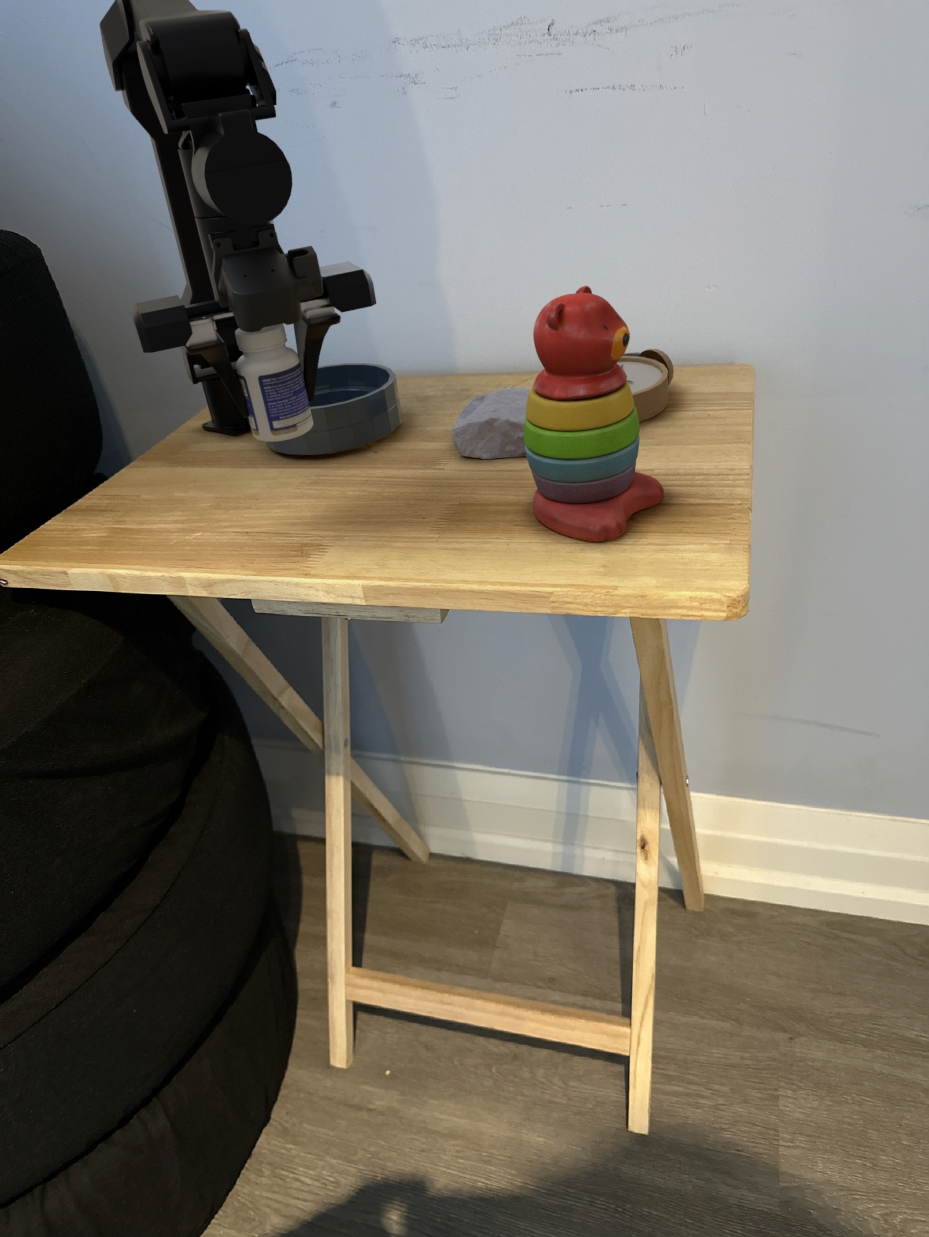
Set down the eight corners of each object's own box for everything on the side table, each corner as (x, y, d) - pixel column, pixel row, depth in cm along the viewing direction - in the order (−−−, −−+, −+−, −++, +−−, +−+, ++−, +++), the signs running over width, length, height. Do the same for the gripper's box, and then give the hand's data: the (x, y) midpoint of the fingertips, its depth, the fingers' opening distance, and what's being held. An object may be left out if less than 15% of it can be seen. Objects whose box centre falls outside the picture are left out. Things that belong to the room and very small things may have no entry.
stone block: (454, 477, 92) (551, 454, 89) (439, 431, 90) (537, 407, 87) (478, 436, 102) (565, 415, 99) (464, 395, 100) (553, 372, 97)
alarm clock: (544, 399, 95) (586, 331, 105) (550, 440, 98) (590, 371, 108) (652, 401, 91) (685, 331, 100) (655, 445, 94) (687, 372, 104)
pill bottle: (324, 420, 81) (303, 317, 76) (296, 443, 77) (272, 336, 72) (271, 420, 83) (247, 319, 78) (241, 442, 78) (214, 337, 74)
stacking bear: (609, 547, 72) (599, 316, 63) (504, 524, 78) (481, 309, 69) (673, 493, 79) (672, 278, 70) (572, 475, 85) (559, 274, 76)
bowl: (238, 448, 102) (225, 400, 99) (334, 403, 112) (325, 358, 109) (334, 469, 93) (323, 417, 91) (430, 418, 103) (423, 369, 100)
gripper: (113, 247, 61) (179, 466, 70) (379, 199, 66) (411, 409, 74) (104, 228, 70) (163, 424, 79) (339, 187, 75) (371, 375, 83)
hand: (278, 408), depth 79 cm, fingers closed on pill bottle, 5 cm apart
